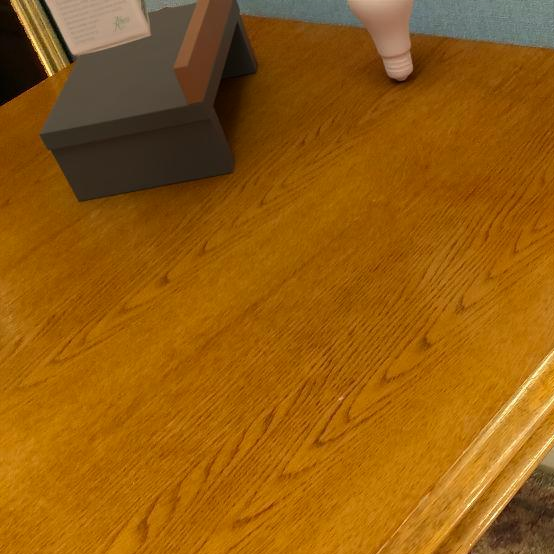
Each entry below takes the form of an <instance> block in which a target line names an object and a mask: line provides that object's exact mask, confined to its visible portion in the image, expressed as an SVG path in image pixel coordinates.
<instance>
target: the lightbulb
mask: <svg viewBox="0 0 554 554" xmlns="http://www.w3.org/2000/svg"><path fill="white" fill-rule="evenodd" d="M414 1H415V0H346V3H347V5H348V7H349V9H350V11H351V13H352V14H353V15H354V16H355V18H356V19H357V20H358V21H359V22H360V23H361V24H362V26H363V27H364V28H365V29H366V30H367V32H368V33H369V35H370V36H371V39H372V40H373V43H374V45H375V48H376V51H377V54H378V55H379V56H380V57H381V59H382V63H383V66H384V69H385V72H386V75H387V76H388V77H389V78H391V79H394V80H396V81H398V82H402V81H405V80H406V79H408V76H409V75H410V74H412V72H413V70H414V66H413V58H412V54H411V48H412V43H411V37H410V19H411V15H412V10H413V6H414Z"/></svg>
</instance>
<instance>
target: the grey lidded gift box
mask: <svg viewBox="0 0 554 554" xmlns="http://www.w3.org/2000/svg"><path fill="white" fill-rule="evenodd" d="M240 12H241V8H240V5H239V4H238V1H237V0H197V1H196V2H192V3H188V4H184V5H179V6H178V5H177V6H173V7H168V8H163V9H158V10H153V11H148V16H149V22H150V32H151V35H150V36H148V37H144V38H141V39H138V40H135V41H132V42H128V43H125V44H122V45H118V46H115V47H111V48H107V49H104V50H100V51H96V52H92V53H87V54H82V55H78V58H77V59H76V62H75V64H74V65H73V67H72V69H71V71H70V73H69V75H68V77H67V79H66V81H65V83H64V85H63V86H62V88H61V90H60V93H59V94H58V96H57V98H56V100H55V102H54V104H53V106H52V108H51V110H50V112H49V114H48V116H47V118H46V120H45V122H44V124H43V125H42V127H41V129H40V131H39V133H38V134H39V137H40V138H41V141H42V143H43V144H44V146H45V148H46V150H47V151H50V152H51V154H52V155H53V157H54V159H55V161H56V163H57V165H58V166H59V169H60V170H61V172H62V173H63V176H64V177H65V179H66V181H67V183H68V185H69V187H70V188H71V190H72V192H73V194H74V195H75V198H76V200H77V201H78V202H84V201H88V200H89V201H90V200H94V199H99V198H104V197H110V196H116V195H121V194H125V193H126V194H127V193H131V192H137V191H141V190H148V189H152V188H157V187H164V186H168V185H174V184H179V183H185V182H189V181H195V180H199V179H205V178H206V179H207V178H210V177H215V176H222V175H226V174H232V173H234V169H235V165H236V159H235V157H234V154H233V152H232V148H231V146H230V144H229V142H228V139H227V136H226V134H225V132H224V130H223V126H222V124H221V122H220V119H219V117H218V114H217V112H216V109H215V107H214V104H215V101H216V97H217V94H218V91H219V86H220V83H221V80H224V79H230V78H235V77H240V76H244V75H250V74H255V73H257V71H258V70H257V69H258V66H259V63H258V60H257V57H256V54H255V52H254V48H253V46H252V43H251V41H250V38H249V35H248V31H247V30H246V26H245V23H244V21H243V18H242V15H241V13H240Z"/></svg>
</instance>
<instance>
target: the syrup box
mask: <svg viewBox="0 0 554 554" xmlns="http://www.w3.org/2000/svg"><path fill="white" fill-rule="evenodd" d="M44 2H45V4H46V6H47V8H48V10H49V12H50V14H51V17H52V18H53V20H54V22H55V24H56V26H57V28H58V30H59V32H60V34H61V36H62V38H63V40H64V42H65V44H66V47H67V49H68V50H69V52H70V53H71V55H73V56H80V55H82V54H87V53H92V52H96V51H100V50H104V49H107V48H111V47H115V46H118V45H122V44H125V43H128V42H132V41H135V40H138V39H141V38H144V37H148V36H150V35H151V32H150V22H149V16H148V12H149V11H148V8H147V4H146V2H145V0H44Z"/></svg>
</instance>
